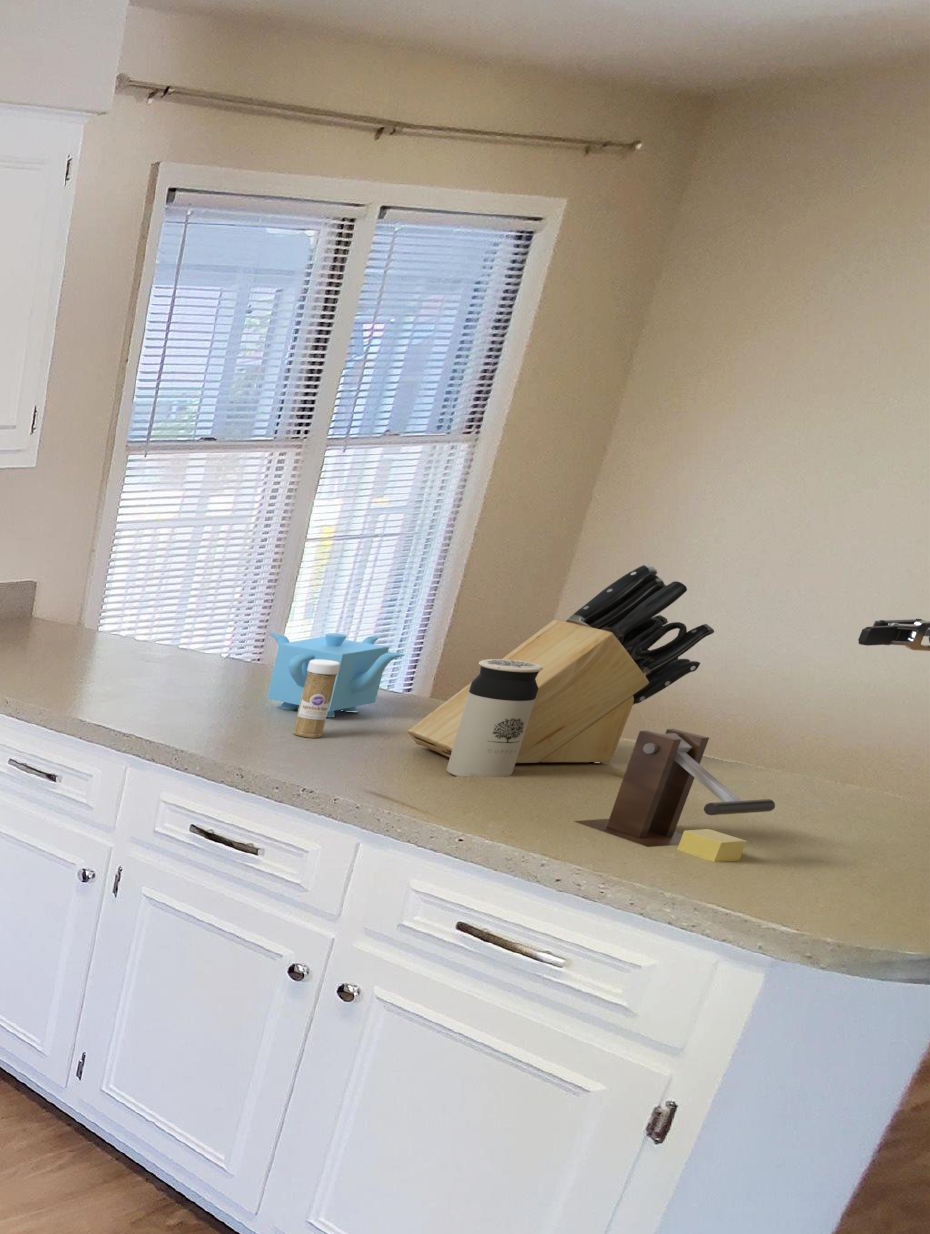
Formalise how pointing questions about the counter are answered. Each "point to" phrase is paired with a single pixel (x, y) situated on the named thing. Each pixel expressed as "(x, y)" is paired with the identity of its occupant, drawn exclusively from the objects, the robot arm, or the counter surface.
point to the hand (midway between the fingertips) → (908, 642)
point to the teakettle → (352, 680)
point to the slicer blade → (717, 787)
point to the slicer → (652, 790)
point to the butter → (711, 845)
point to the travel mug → (494, 718)
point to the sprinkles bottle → (316, 698)
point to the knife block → (589, 673)
